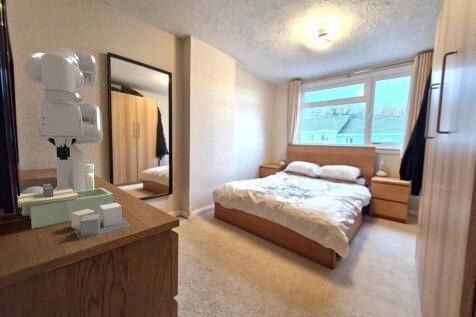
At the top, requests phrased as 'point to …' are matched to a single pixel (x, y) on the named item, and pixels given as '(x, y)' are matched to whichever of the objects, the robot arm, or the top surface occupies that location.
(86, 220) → the light grey cube
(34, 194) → the lid
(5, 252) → the top surface
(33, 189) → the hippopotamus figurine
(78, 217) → the beige cube
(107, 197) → the bin
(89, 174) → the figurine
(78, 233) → the mat
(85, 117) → the robot arm
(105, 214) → the white stacked cube
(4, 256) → the top surface
